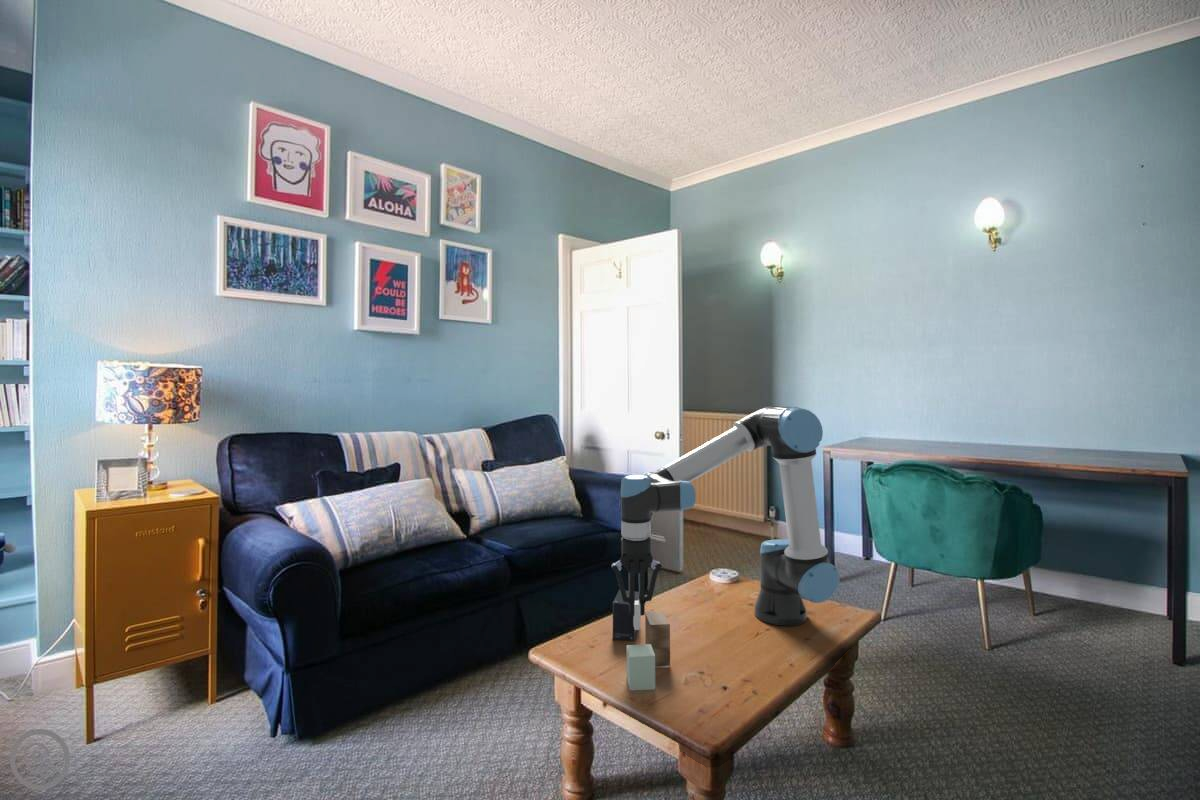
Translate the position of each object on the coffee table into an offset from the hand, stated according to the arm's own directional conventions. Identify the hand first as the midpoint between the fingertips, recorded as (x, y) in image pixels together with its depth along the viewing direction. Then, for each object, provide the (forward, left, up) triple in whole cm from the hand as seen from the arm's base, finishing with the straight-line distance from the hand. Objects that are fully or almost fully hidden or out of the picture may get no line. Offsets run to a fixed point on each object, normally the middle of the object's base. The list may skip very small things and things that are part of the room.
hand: (637, 627), depth 150 cm
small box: (+1, -17, -9) cm, 19 cm away
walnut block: (-5, 0, -9) cm, 10 cm away
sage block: (+1, +11, -9) cm, 14 cm away
